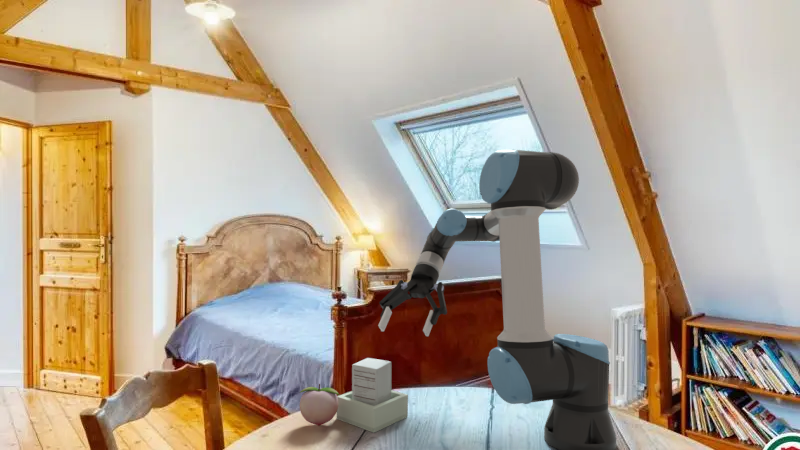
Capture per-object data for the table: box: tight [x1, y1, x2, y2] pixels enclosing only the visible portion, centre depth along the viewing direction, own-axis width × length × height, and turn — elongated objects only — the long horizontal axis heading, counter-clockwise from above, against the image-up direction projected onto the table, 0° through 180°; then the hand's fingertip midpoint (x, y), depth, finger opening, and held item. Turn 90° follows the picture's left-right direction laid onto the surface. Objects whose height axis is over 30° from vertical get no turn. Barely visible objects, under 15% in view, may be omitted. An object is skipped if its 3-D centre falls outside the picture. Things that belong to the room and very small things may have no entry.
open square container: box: [336, 389, 409, 433], centre depth 127 cm, size 12×12×6 cm
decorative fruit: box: [299, 383, 340, 427], centre depth 121 cm, size 9×8×10 cm
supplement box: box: [351, 357, 392, 406], centre depth 127 cm, size 7×7×13 cm
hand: (402, 331), depth 138 cm, fingers open, 13 cm apart
